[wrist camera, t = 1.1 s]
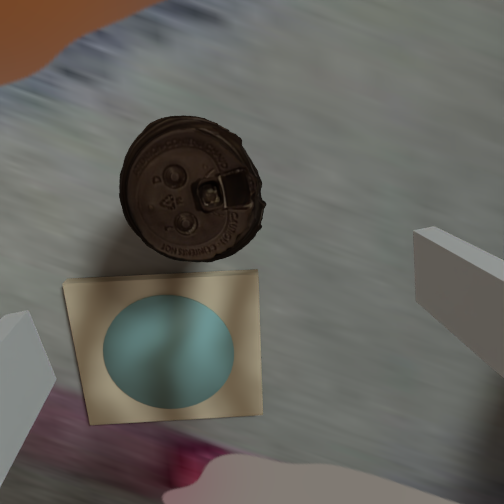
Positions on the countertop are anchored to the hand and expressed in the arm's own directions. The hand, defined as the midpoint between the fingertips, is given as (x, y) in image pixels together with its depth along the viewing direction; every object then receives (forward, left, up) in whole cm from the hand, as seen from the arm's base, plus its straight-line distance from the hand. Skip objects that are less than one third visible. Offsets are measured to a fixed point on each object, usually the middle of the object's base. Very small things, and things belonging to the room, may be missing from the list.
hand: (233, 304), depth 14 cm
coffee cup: (+2, -2, -22) cm, 22 cm away
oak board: (+7, +15, -22) cm, 27 cm away
